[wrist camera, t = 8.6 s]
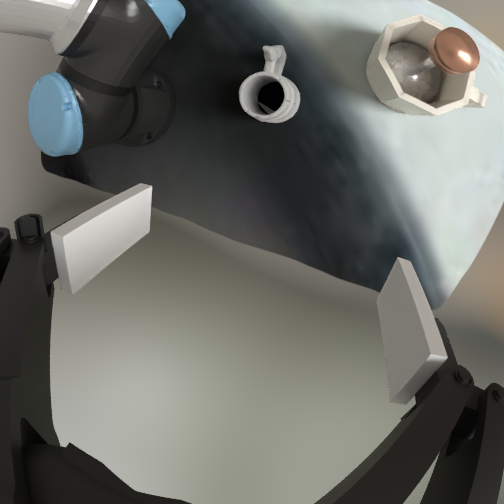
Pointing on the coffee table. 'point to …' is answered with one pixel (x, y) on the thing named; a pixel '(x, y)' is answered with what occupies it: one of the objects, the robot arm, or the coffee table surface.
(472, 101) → the octagonal white cup
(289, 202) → the coffee table surface
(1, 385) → the robot arm
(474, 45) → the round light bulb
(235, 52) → the coffee table surface
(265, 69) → the mug
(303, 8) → the coffee table surface
